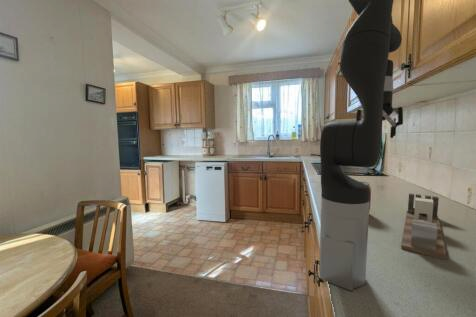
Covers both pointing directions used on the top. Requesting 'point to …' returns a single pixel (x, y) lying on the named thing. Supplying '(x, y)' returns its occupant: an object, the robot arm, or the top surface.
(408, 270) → the top surface
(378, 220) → the top surface
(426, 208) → the sleeve
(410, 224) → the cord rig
